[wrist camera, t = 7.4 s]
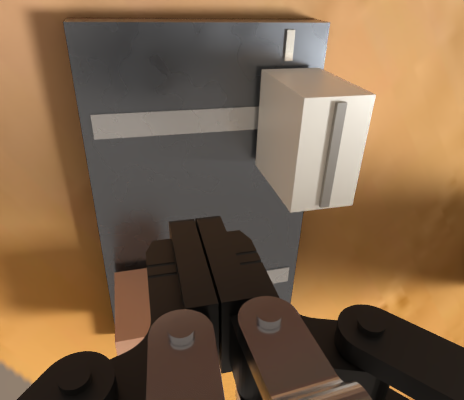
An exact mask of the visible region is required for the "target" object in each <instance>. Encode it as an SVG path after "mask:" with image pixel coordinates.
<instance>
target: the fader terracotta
mask: <svg viewBox="0 0 464 400" xmlns="http://www.w3.org/2000/svg"><path fill="white" fill-rule="evenodd" d="M114 284H115V345H116V350H117V356H119V355H121V354H123V353H125V352H127V351H129V350H131V349H132V348H134V347H135V346H136V345H137V344H139V343H140V342H141V341H142V340H143V338H144V337H145V336H146V334H147V333H148V330H149V328H150V324H151V315H150V302H149V289H148V276H147V268H143V269H136V270H129V271H122V272H115V273H114Z"/></svg>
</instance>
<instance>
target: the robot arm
mask: <svg viewBox="0 0 464 400" xmlns="http://www.w3.org/2000/svg"><path fill="white" fill-rule="evenodd" d="M169 235H170V239H163V240H155V241H152V242H151V244H150V246H149V248H148V249H147V251H146V264H147V276H148V289H149V302H150V315H151V324H150V328H149V330H148V333H147V334H146V336H145V337H144V338H143V340H142V341H141V342H140V343H139V344H137V345H136V346H135V347H134V348H132V349H131V350H129V351H127V352H125V353H123V354H121V355H119V356H116V357H114V358H112V359H110V360H109V359H108V358H107V357H106V356H104V355H102V354H100V353H97V352H92V351H83V352H77V353H73V354H70V355H68V356H65V357H63V358H62V359H60V360H58V361H57V362H55V363H54V364H53V365H51V366H50V367H49V368H48V369H47V370H46V371H45V372H44V373H43V374H42V375H41V376H40V377H39V378H38V379H37V380H36V381H35V382H34V383H33V384H32V385H31V386H30V387H29V388H28V389H27V390H26V391H25V392H24V393H23V394H22V395H21V396H20V397H19V398H18V399H17V400H225V398H224V391H223V385H222V378H221V373H226V372H231V371H232V372H233V376H234V379H235V383H236V400H409V399H408V398H406V397H404V396H402V395H401V394H399V393H397V392H395V391H394V390H392V389H390V388H389V386H392V387H394V388H395V389H397V390H399V391H401V392H402V393H404V394H406V395H408V396H410V397H411V398H413V399H415V400H464V348H463V347H461V346H459V345H457V344H455V343H453V342H451V341H449V340H446V339H444V338H442V337H440V336H438V335H436V334H434V333H431V332H429V331H427V330H425V329H423V328H421V327H419V326H416V325H414V324H412V323H410V322H408V321H406V320H404V319H401V318H399V317H397V316H395V315H393V314H391V313H389V312H387V311H384V310H382V309H380V308H377V307H374V306H370V305H353V306H350V307H347V308H345V309H344V310H343V311H342V312H341V313H340V315H339V317H338V320H327V319H317V318H309V317H306V316H302V315H300V314H299V313H298V312H297V310H296V309H295V308H294V307H293V306H292V305H291V304H290V303H288V302H287V301H285V300H283V299H280V298H279V296H278V293H277V291H276V289H275V287H274V285H273V283H272V281H271V279H270V277H269V275H268V273H267V271H266V269H265V267H264V265H263V263H262V262H261V259H260V256H259V254H258V253H257V250H256V248H255V246H254V244H253V242H252V240H251V239H250V238H249V237H248V236H246V235H245V234H244V233H243V232H241V231H240V230H236V231H228V232H227V231H226V228H225V226H224V224H223V221H222V219H221V217H220V216H212V217H203V218H195V221H194V219H186V220H177V221H169ZM219 365H220V366H219ZM220 369H221V372H220Z"/></svg>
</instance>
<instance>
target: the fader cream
mask: <svg viewBox="0 0 464 400" xmlns="http://www.w3.org/2000/svg"><path fill="white" fill-rule="evenodd" d="M375 97H376V95H375V94H373V93H371V92H369V91H367V90H365V89H363V88H361V87H358V86H356V85H354V84H352V83H350V82H348V81H346V80H344V79H342V78H340V77H338V76H335V75H333V74H331V73H329V72H327V71H325V70H323V69H321V68H291V69H262V71H261V86H260V102H259V117H258V132H257V148H256V163H255V165H256V166H257V168H258V169H259V170H260V172H261V173H262V174H263V176H264V177H265V179H266V180H267V181H268V183H269V184H270V185H271V187H272V188H273V189H274V191H275V192H276V194H277V195H278V196H279V198H280V199H281V200H282V202H283V203H284V204H285V206H286V207H287V209H288V210H289V211H290V213H292V212H301V211H309V210H318V209H326V208H334V207H343V206H351V205H353V200H354V195H355V191H356V186H357V181H358V177H359V172H360V167H361V162H362V158H363V153H364V148H365V144H366V139H367V134H368V130H369V125H370V120H371V115H372V111H373V106H374V101H375Z"/></svg>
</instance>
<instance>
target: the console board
mask: <svg viewBox="0 0 464 400" xmlns="http://www.w3.org/2000/svg"><path fill="white" fill-rule="evenodd" d="M63 23H64V29H65V35H66V41H67V47H68V53H69V59H70V65H71V71H72V76H73V82H74V88H75V94H76V100H77V106H78V112H79V118H80V123H81V129H82V135H83V141H84V147H85V153H86V159H87V165H88V171H89V176H90V182H91V188H92V194H93V200H94V206H95V212H96V218H97V224H98V229H99V235H100V241H101V247H102V253H103V259H104V265H105V271H106V276H107V282H108V288H109V294H110V300H111V306H112V312H113V318H114V324H115V284H114V273H115V272H122V271H129V270H136V269H143V268H147V264H146V251H147V249H148V248H149V246H150V244H151V242H152V241H155V240H163V239H170V235H169V221H177V220H186V219H194V221H195V218H203V217H212V216H220V217H221V219H222V221H223V224H224V226H225V228H226V231H227V232H228V231H236V230H240V231H241V232H243V233H244V234H245V235H246V236H248V237H249V238H250V239H251V240H252V242H253V244H254V246H255V248H256V250H257V253H258V254H259V256H260V259H261V262H262V263H263V265H264V267H265V269H266V271H267V273H268V275H269V277H270V279H271V281H272V283H273V285H274V287H275V289H276V291H277V293H278V296H279V298H280V299H283V300H285V301H287V302H288V303H291V296H292V289H293V282H294V275H295V268H296V260H297V253H298V246H299V239H300V232H301V225H302V218H303V211H301V212H292V213H290V211H289V210H288V209H287V207H286V206H285V204H284V203H283V202H282V200H281V199H280V198H279V196H278V195H277V194H276V192H275V191H274V189H273V188H272V187H271V185H270V184H269V183H268V181H267V180H266V179H265V177H264V176H263V174H262V173H261V172H260V170H259V169H258V168H257V166H256V165H255V163H256V148H257V132H258V117H259V102H260V86H261V71H262V69H291V68H321V69H324V62H325V55H326V48H327V41H328V34H329V27H330V23H329V22H325V21H321V20H317V19H154V18H66V19H65V21H64V22H63Z"/></svg>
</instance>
